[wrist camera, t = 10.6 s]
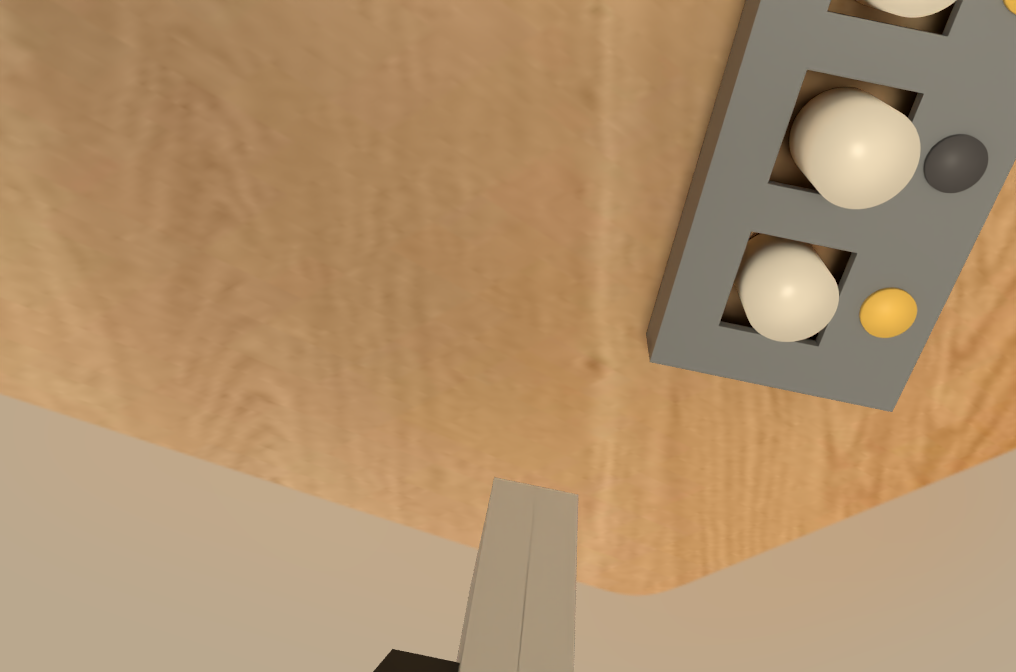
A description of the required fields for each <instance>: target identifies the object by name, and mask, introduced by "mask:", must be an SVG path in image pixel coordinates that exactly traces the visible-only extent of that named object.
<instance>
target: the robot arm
mask: <svg viewBox="0 0 1016 672" xmlns="http://www.w3.org/2000/svg"><path fill="white" fill-rule="evenodd" d="M577 528H578V494H573V493H568V492H563V491H558V490H553V489H549V488H544V487H539V486H534V485H529V484H524V483H520V482H515V481H510V480H505V479H500V478H495V477H494V481H493V486H492V490H491V495H490V499H489V504H488V509H487V513H486V518H485V522H484V527H483V532H482V536H481V541H480V545H479V550H478V554H477V559H476V564H475V569H474V573H473V577H472V582H471V587H470V591H469V597H468V602H467V608H466V613H465V618H464V624H463V630H462V635H461V640H460V646H459V651H458V656H457V662H453V661H448V660H443V659H438V658H433V657H429V656H424V655H419V654H414V653H409V652H404V651H400V650H395V649H392V650H391V652H390V653H389V654H388V655H387V656H386V657H385V659H384V660H383V661H382V662H381V663H380V664H379V666H378V667H377V668H376V669H375V670H374V671H373V672H574V646H575V645H574V644H575V605H576V567H577Z"/></svg>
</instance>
